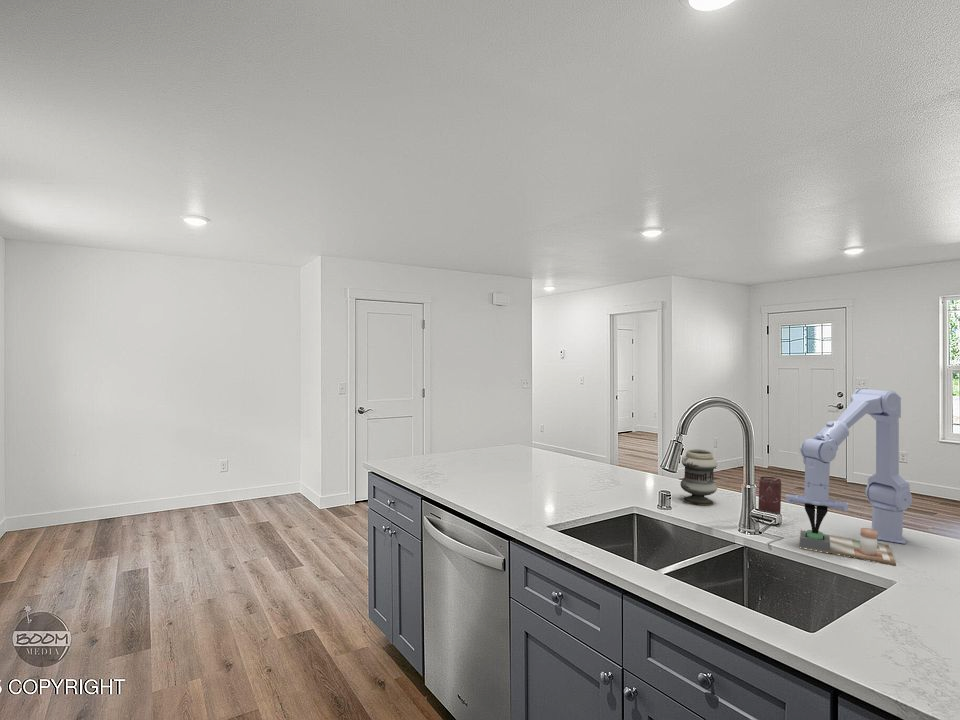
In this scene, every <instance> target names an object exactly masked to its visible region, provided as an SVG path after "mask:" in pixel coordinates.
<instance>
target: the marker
mask: <svg viewBox="0 0 960 720" xmlns="http://www.w3.org/2000/svg"><path fill="white" fill-rule="evenodd" d="M859 537H860V539H859V540H860V552H861V553H863V554H867V555H876V551H877V543H878V539H877V538H878V531H876V530H873V529H872V528H870V529H869V528H866V527H861V528H860V536H859Z"/></svg>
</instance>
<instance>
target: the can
mask: <svg viewBox="0 0 960 720" xmlns="http://www.w3.org/2000/svg"><path fill="white" fill-rule="evenodd" d="M781 501H782V480H781V478H779V477H774V476H761V477H759V481H758V505H757V506H758V509H757V510H760V511H765V512H771V513H775V514H780V515H781V510H782V509H781V508H782V507H781V506H782V505H781V504H782V502H781Z"/></svg>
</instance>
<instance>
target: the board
mask: <svg viewBox="0 0 960 720" xmlns="http://www.w3.org/2000/svg"><path fill="white" fill-rule="evenodd" d="M801 531H804V530H802V529H801V530H800V532H799V533H800V535H801ZM805 531H806V532H807V530H805ZM823 534H824V535H829V537H830V552H829V551H824V550H818V549H813V548H807V547H801V546H800V545H799V548H800V547H801V548H807V549H812V550H817V551H822V552H828V553H833V554H840V555H845V556H850V557H855V558H860V559H859V560H861V559H865V560H864V561H866V560H870V561H869V562H872V561H875V562H874V563H877V562H880V563H879V564H883V563H884V565H888V564H889V565H888V566H894V567H896V566H897V562H896V560H895V558H894V555H893V552H892V550H891V547H890V545H889V544H886V543H880V542H877V551H876V555H867V554H863V553H861V552H860V539H858V538H857V539H856V538H853V537H852V538H850V537H845V536H838V535H831V534H826V533H823ZM800 535H799V536H800ZM822 552H821V553H822ZM833 554H832V555H833ZM850 557H849V558H850ZM855 558H854V559H855Z"/></svg>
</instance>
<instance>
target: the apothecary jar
mask: <svg viewBox="0 0 960 720" xmlns="http://www.w3.org/2000/svg"><path fill="white" fill-rule="evenodd" d="M681 464H682V465H683V466H684V475H683V476H684V477H683V478H682V480H681V481H680V487H681V489H682V490H683V491H684V492H686V493H688V494H690V495H688V496H684V497H683V498H682V500H683V501H684V502H685V503H688V504H690V505H698V506H707V507H708V506H712V505H713V504H714V501H712V500H711V499H710V498H709V497H706V496H710V495H711V496H712V494H714V493H716V491H717V490H718V485H717V484H716V482H715V480H714V470H715V469H717V467H718V461H717V459H715V458H714V456H713V452H712V451H710V450H706V449H699V448H698V449H697V448H696V449H695V448H694V449H687V450H686V452H685V455H684V456H683V457H682V459H681Z"/></svg>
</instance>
